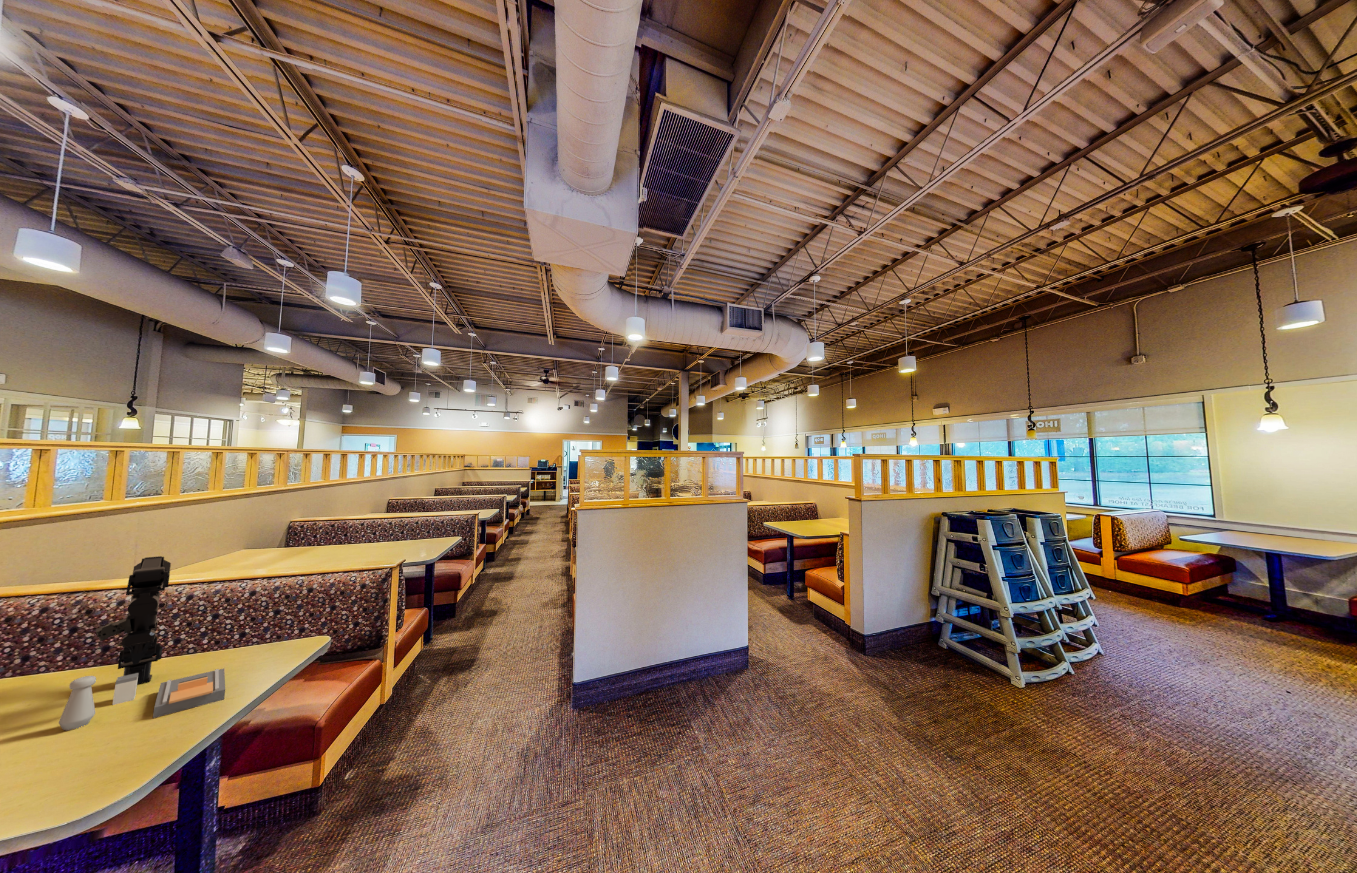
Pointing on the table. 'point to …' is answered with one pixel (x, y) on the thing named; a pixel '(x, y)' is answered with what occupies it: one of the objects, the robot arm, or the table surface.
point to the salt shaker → (79, 704)
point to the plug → (125, 688)
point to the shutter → (191, 690)
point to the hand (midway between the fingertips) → (137, 659)
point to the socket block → (167, 687)
